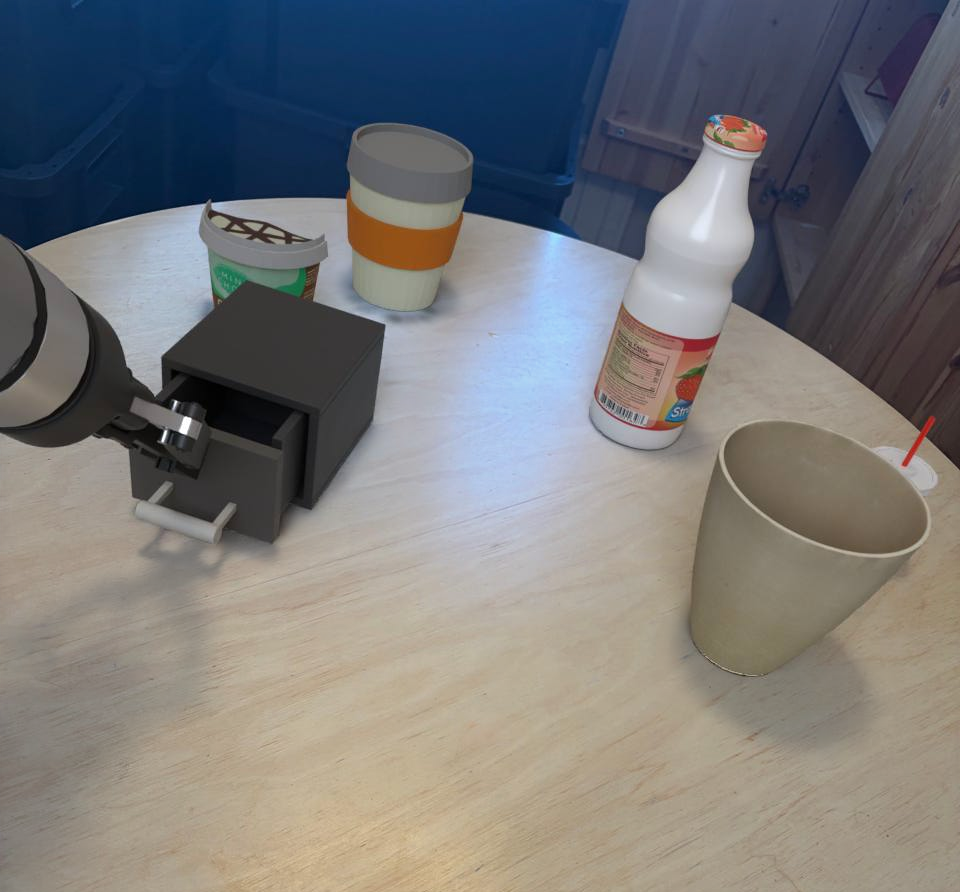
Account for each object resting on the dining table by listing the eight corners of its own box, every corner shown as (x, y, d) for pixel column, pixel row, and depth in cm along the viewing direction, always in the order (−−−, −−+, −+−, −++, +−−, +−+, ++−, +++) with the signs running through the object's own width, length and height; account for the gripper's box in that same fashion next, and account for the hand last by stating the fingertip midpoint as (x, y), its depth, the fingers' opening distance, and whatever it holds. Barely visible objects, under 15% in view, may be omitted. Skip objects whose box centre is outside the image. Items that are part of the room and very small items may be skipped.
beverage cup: (893, 546, 91) (975, 418, 81) (878, 579, 87) (963, 449, 77) (832, 516, 92) (905, 387, 83) (814, 548, 88) (889, 416, 79)
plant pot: (693, 726, 70) (784, 560, 59) (617, 583, 80) (684, 417, 68) (863, 707, 75) (977, 550, 64) (773, 574, 84) (859, 418, 73)
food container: (177, 324, 94) (174, 221, 87) (205, 297, 98) (204, 197, 91) (299, 361, 94) (306, 260, 86) (322, 333, 98) (330, 235, 91)
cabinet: (311, 510, 79) (320, 408, 72) (165, 462, 79) (160, 356, 73) (373, 420, 89) (386, 324, 82) (243, 378, 90) (246, 279, 83)
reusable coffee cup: (318, 265, 108) (330, 120, 97) (421, 260, 113) (443, 123, 103) (362, 323, 101) (379, 174, 90) (470, 316, 106) (498, 174, 96)
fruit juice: (588, 389, 100) (678, 93, 81) (677, 409, 101) (788, 120, 81) (586, 440, 94) (684, 131, 74) (681, 461, 94) (803, 160, 75)
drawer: (248, 578, 71) (251, 492, 65) (101, 529, 71) (92, 440, 66) (338, 452, 83) (347, 371, 78) (213, 410, 84) (213, 327, 78)
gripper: (-142, 383, 45) (89, 480, 69) (119, 471, 45) (262, 538, 68) (-88, 230, 45) (124, 379, 69) (173, 315, 45) (298, 436, 68)
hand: (193, 458), depth 68 cm, fingers closed
